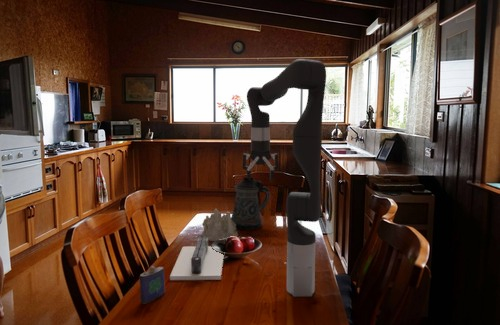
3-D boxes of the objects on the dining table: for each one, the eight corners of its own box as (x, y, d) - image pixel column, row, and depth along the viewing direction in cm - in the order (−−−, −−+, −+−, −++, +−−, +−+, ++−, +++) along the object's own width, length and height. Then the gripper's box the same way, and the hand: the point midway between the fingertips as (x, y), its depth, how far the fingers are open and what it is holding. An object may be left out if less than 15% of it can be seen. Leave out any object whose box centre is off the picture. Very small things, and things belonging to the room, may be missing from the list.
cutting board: (220, 279, 139) (220, 275, 139) (170, 280, 139) (170, 276, 139) (224, 249, 169) (224, 246, 169) (182, 249, 169) (182, 246, 168)
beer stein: (225, 223, 207) (224, 177, 203) (257, 218, 216) (257, 174, 212) (239, 232, 192) (239, 182, 189) (273, 226, 201) (273, 178, 198)
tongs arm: (196, 269, 144) (196, 257, 143) (191, 269, 144) (190, 257, 143) (203, 248, 166) (202, 237, 165) (198, 248, 166) (198, 237, 165)
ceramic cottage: (240, 238, 183) (238, 206, 182) (206, 243, 178) (203, 211, 177) (231, 230, 198) (229, 201, 196) (199, 235, 193) (197, 205, 192)
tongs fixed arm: (202, 273, 140) (201, 260, 139) (190, 274, 140) (190, 260, 139) (208, 248, 166) (208, 236, 165) (198, 248, 166) (198, 237, 165)
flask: (161, 291, 131) (160, 260, 129) (167, 293, 129) (166, 262, 127) (138, 302, 123) (137, 270, 122) (144, 305, 121) (143, 272, 120)
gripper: (242, 139, 150) (242, 181, 152) (279, 139, 150) (279, 181, 152) (242, 138, 157) (242, 178, 160) (277, 138, 158) (277, 178, 160)
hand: (260, 179), depth 156 cm, fingers open, 8 cm apart
